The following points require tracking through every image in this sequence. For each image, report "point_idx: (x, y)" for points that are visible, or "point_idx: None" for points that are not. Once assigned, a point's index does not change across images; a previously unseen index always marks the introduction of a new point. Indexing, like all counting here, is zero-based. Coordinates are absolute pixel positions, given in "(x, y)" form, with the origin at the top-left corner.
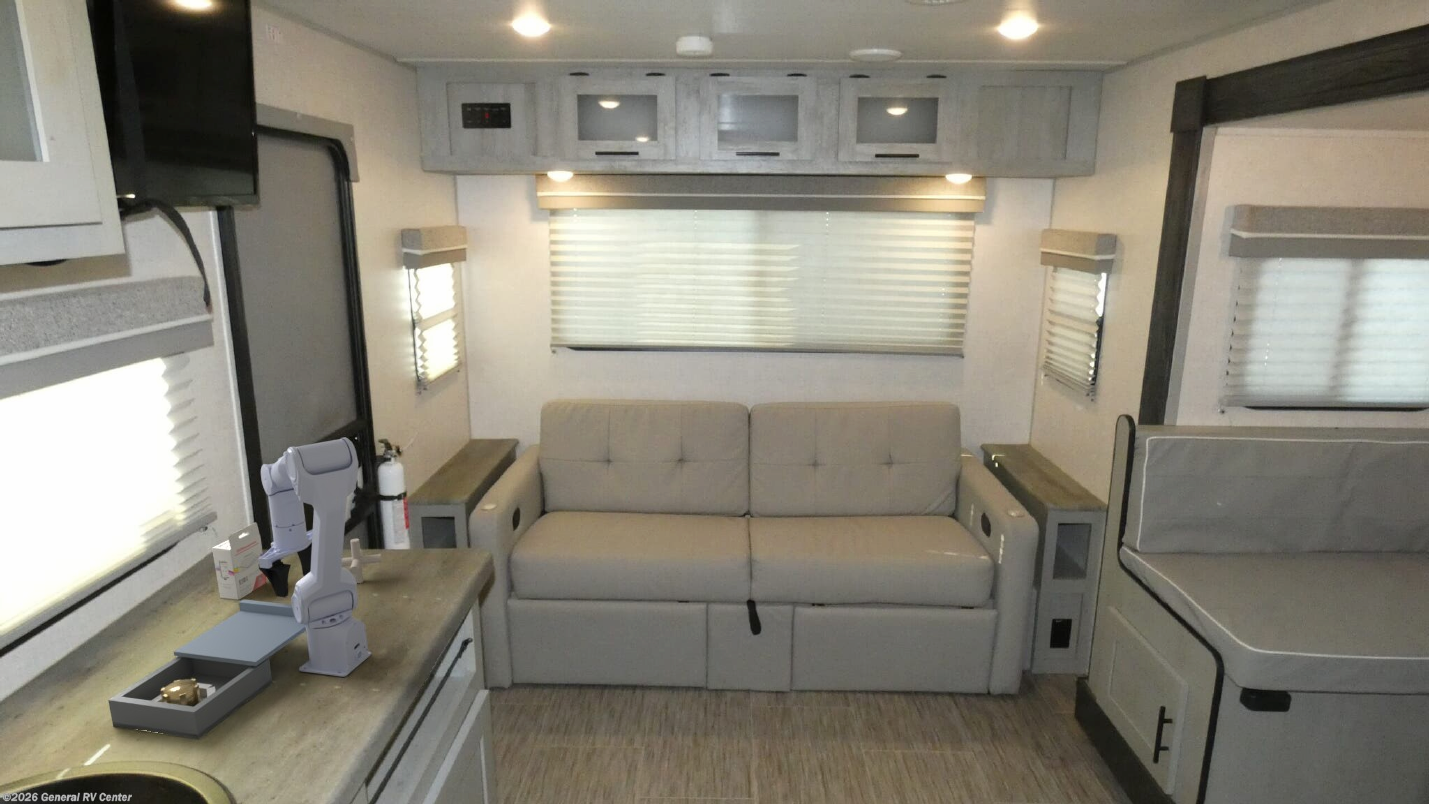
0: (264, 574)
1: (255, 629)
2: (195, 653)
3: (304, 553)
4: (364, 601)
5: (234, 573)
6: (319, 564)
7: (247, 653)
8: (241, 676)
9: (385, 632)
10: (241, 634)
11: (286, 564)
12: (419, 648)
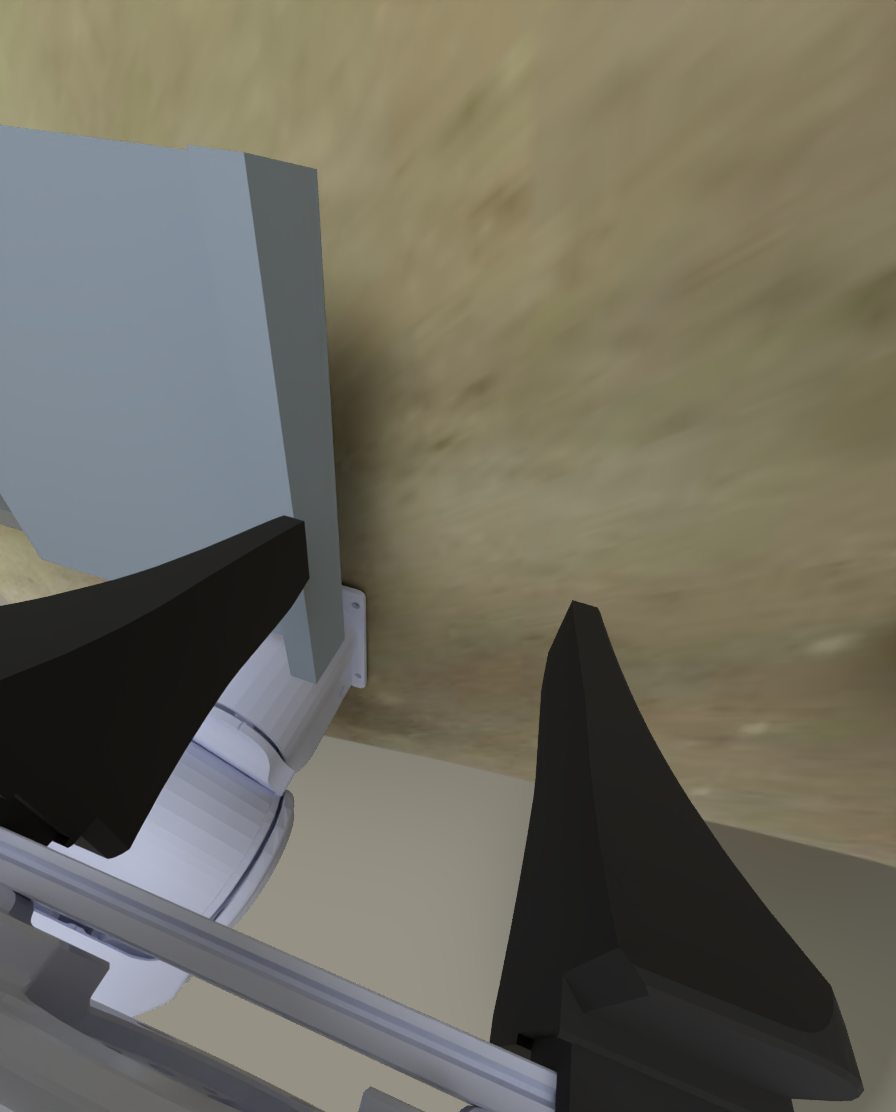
0: (33, 602)
1: (148, 452)
2: None
3: (557, 875)
4: (754, 618)
5: None
6: None
7: (41, 514)
8: (17, 524)
9: (480, 696)
10: (88, 407)
11: (88, 845)
12: (413, 749)
